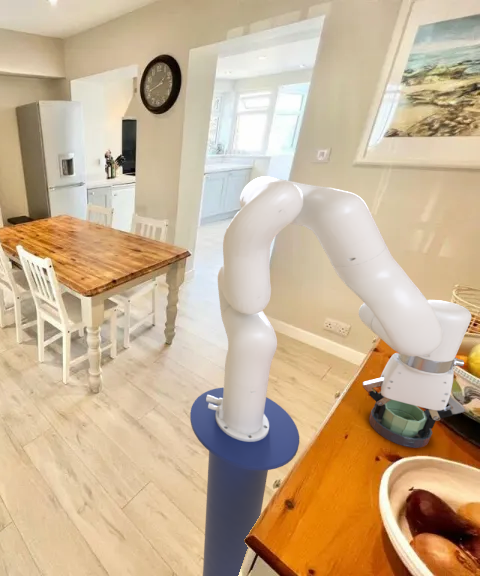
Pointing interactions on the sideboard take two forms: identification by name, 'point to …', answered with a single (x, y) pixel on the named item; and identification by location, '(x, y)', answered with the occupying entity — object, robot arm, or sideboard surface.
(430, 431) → the bottom bowl
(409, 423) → the top bowl
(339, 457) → the sideboard surface
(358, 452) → the sideboard surface
